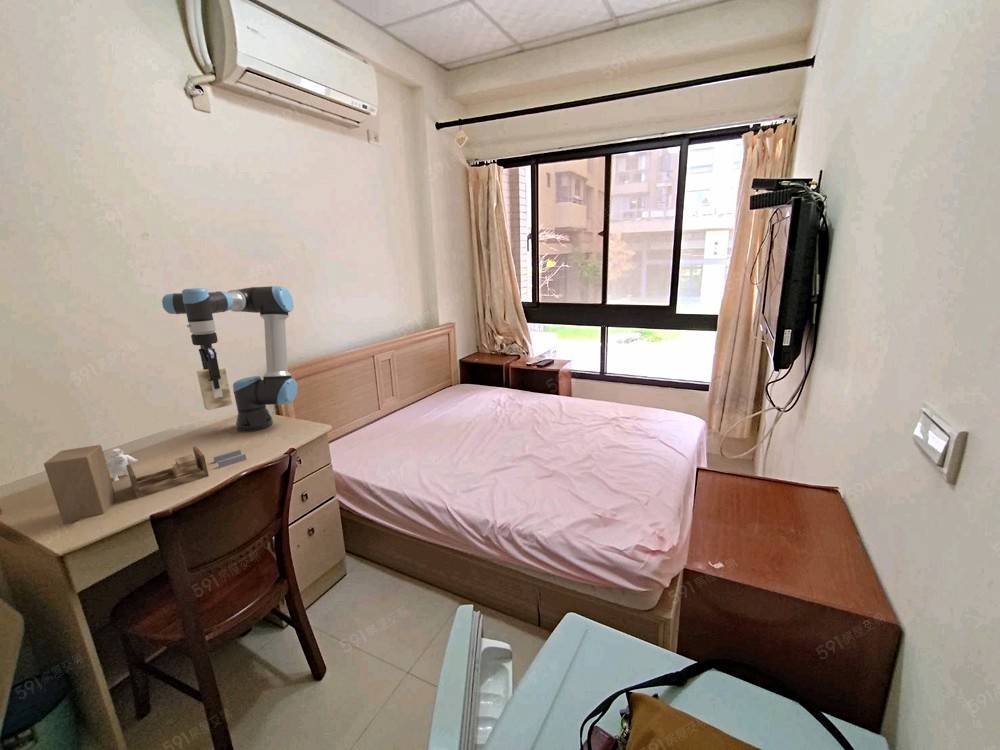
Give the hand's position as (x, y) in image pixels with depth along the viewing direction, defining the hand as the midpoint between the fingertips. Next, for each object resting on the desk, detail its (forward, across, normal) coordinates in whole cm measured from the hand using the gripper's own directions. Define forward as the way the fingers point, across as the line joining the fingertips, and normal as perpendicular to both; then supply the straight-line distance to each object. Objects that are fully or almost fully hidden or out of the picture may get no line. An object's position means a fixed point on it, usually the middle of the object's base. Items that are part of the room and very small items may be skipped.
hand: (216, 395), depth 159 cm
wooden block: (+27, +5, -40) cm, 49 cm away
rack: (+27, +2, -19) cm, 33 cm away
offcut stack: (+26, +2, -14) cm, 30 cm away
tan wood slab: (+4, 0, 0) cm, 4 cm away
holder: (+27, 0, 0) cm, 27 cm away
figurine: (+27, -15, -30) cm, 43 cm away
